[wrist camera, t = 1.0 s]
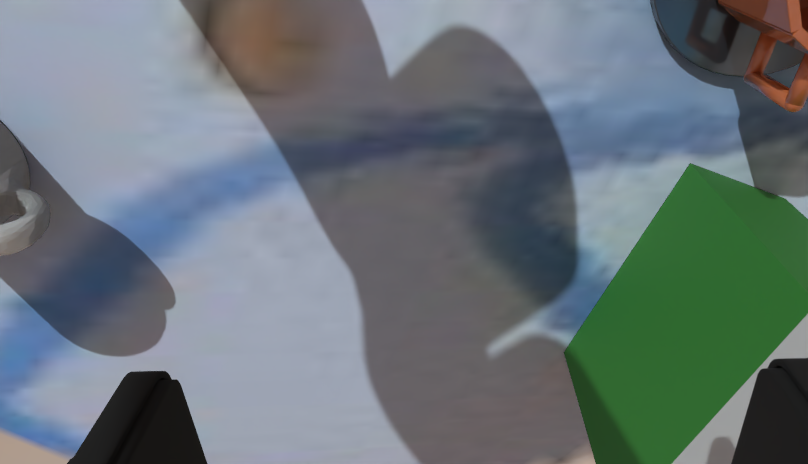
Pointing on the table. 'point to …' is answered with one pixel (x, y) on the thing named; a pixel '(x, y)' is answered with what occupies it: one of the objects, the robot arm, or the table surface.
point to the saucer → (716, 37)
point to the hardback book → (692, 324)
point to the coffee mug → (18, 199)
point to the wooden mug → (776, 20)
